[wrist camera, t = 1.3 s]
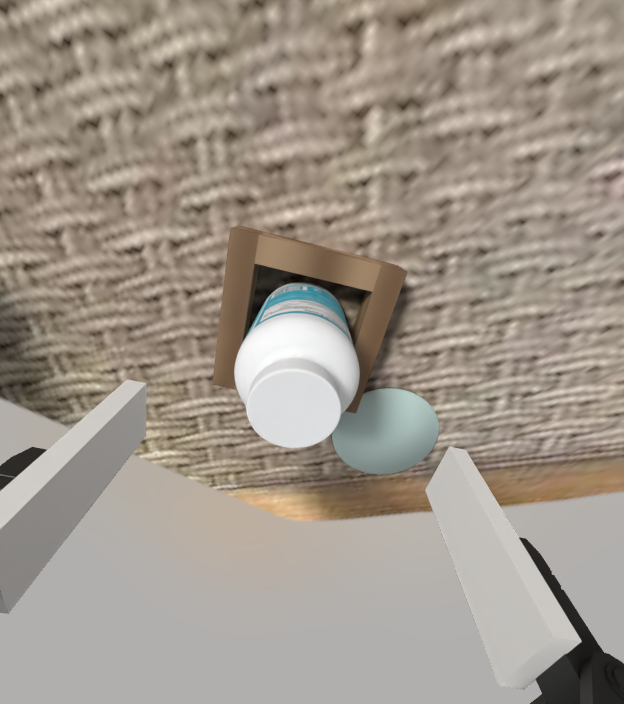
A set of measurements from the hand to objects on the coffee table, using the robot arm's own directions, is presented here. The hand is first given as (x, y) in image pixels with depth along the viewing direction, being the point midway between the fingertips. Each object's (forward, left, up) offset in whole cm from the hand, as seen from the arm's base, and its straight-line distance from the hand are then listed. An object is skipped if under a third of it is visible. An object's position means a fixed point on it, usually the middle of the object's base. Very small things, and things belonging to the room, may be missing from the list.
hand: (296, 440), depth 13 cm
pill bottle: (0, 0, -16) cm, 16 cm away
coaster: (+11, -10, -15) cm, 21 cm away
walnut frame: (0, 0, -15) cm, 15 cm away
